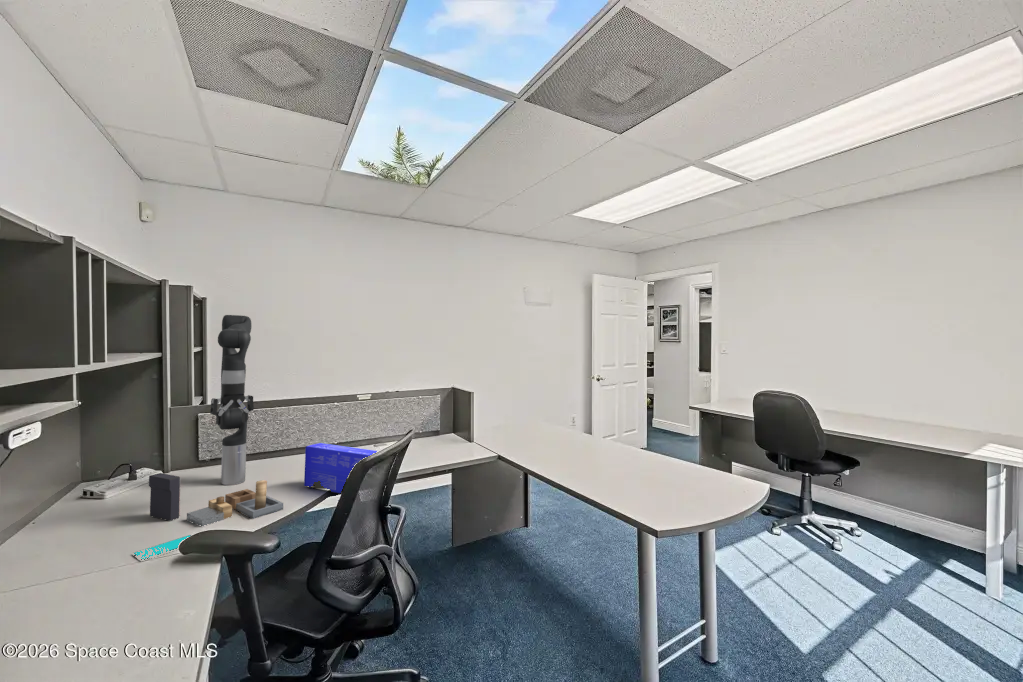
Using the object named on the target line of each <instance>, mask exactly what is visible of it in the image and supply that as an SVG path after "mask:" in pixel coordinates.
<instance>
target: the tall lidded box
mask: <svg viewBox="0 0 1023 682" xmlns="http://www.w3.org/2000/svg"><path fill="white" fill-rule="evenodd" d="M148 487H149V488H150V497H149V499H150V501H149V516H150V517H151V516H153V517H152V518H155V517H157V519H159V518H162V519H161V520H164V519H166V520H165V521H168V520H171V521H173V519H174V520H177V519H179V517H180V516H181V515H180V514H181V513H180V512H181V503H180V501H181V477H180V476H178V475H172V474H169V473H168V474H167V473H162V472H158V473H155V474H151V475H149V477H148ZM176 518H177V519H176Z"/></svg>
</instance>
